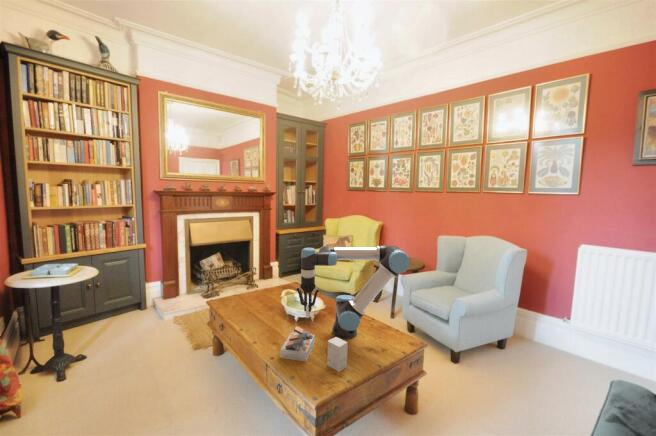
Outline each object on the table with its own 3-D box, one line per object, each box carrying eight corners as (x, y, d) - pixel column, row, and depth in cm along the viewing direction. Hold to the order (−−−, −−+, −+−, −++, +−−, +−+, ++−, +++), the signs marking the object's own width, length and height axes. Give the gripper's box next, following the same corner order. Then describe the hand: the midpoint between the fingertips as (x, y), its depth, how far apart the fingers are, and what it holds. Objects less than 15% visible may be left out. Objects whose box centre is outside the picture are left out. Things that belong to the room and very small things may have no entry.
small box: (347, 366, 146) (348, 342, 144) (339, 372, 141) (339, 347, 140) (335, 359, 151) (335, 336, 150) (326, 365, 147) (327, 340, 145)
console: (314, 343, 167) (314, 334, 166) (306, 361, 149) (306, 351, 149) (291, 340, 170) (291, 331, 169) (280, 358, 152) (280, 348, 151)
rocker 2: (307, 337, 160) (306, 333, 160) (305, 341, 156) (304, 337, 156) (292, 339, 162) (291, 335, 162) (289, 342, 158) (288, 338, 158)
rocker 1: (309, 336, 166) (310, 333, 166) (307, 340, 162) (308, 336, 162) (295, 328, 167) (296, 325, 167) (293, 332, 163) (294, 329, 163)
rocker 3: (304, 341, 154) (302, 337, 154) (302, 345, 150) (300, 341, 150) (289, 346, 156) (287, 342, 156) (286, 350, 152) (285, 346, 152)
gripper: (321, 274, 163) (320, 315, 166) (298, 273, 165) (298, 312, 168) (318, 279, 156) (317, 321, 158) (294, 277, 158) (294, 318, 161)
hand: (307, 316), depth 163 cm, fingers closed
